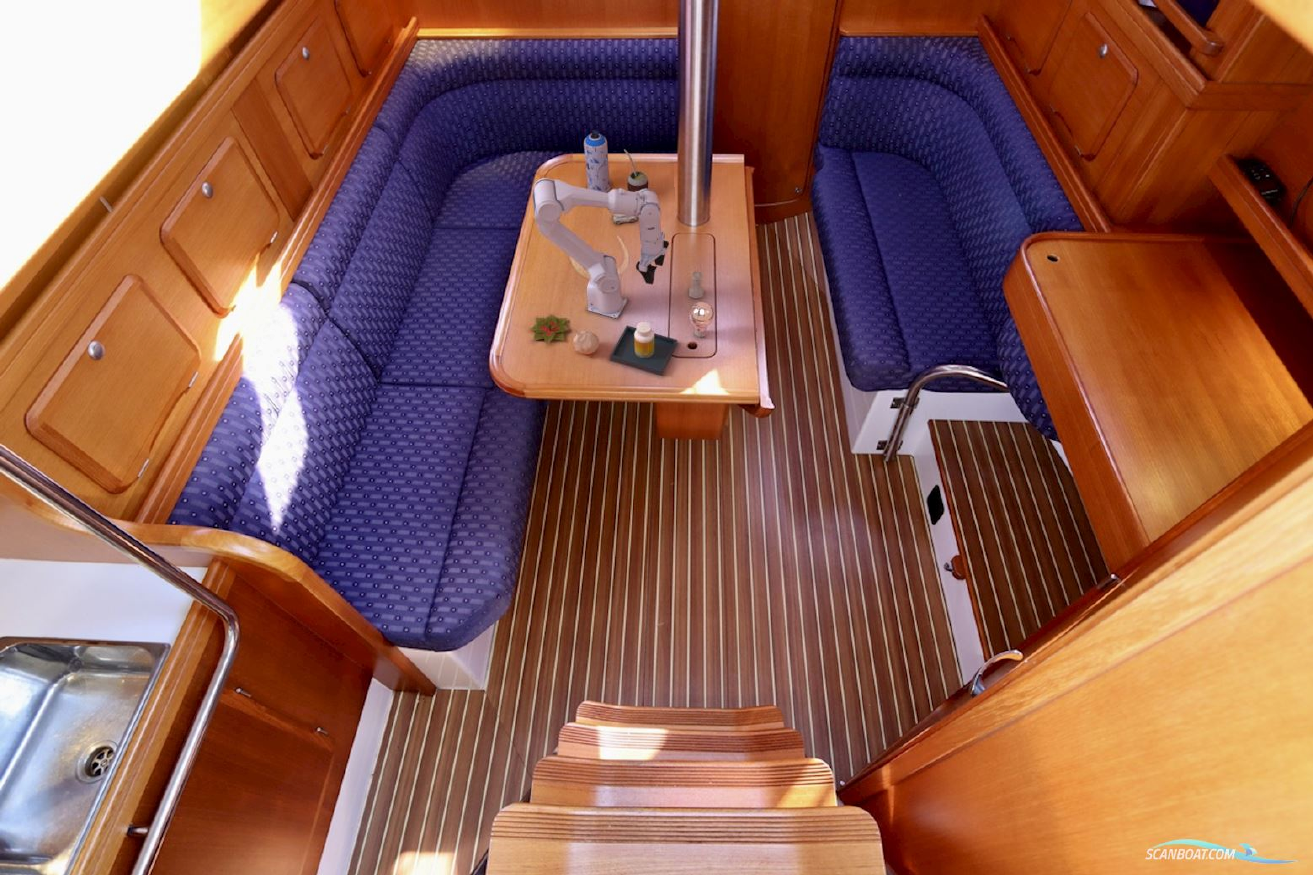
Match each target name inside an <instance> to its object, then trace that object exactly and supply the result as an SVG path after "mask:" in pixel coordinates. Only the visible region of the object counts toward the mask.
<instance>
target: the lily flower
mask: <svg viewBox="0 0 1313 875" xmlns="http://www.w3.org/2000/svg"><path fill="white" fill-rule="evenodd" d="M567 319H568V318H567V317H559V318H556V316H554V315H553V314H549V315H548V316H546V317H536V318H535V320H536V324H534V325H533V326H532V327H531V328H530V330H531V331H533V332H535V333H534V335H533V339H532V342H533V341H537V340H538V341H539V340H543V339H544V341H545V343H546V345H549V344H550V342H552V340H557V341H563V342H565V338H564V332H566V331H569V330H571V328H569V327H568V326H567V325H566V322H567Z"/></svg>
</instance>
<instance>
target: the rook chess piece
mask: <svg viewBox="0 0 1313 875" xmlns="http://www.w3.org/2000/svg"><path fill="white" fill-rule="evenodd" d="M691 278H692V285H691V286H690V287H689V290H688V295H689V296H690V297H691V298H693V299H695V300H696V299H700V298H702V297H703V296H704V287H703V286H702V282H703V278H704V275H703V273H702V271H699V270H694V271H693V273H692V274H691Z"/></svg>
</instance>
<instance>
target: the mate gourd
mask: <svg viewBox="0 0 1313 875" xmlns="http://www.w3.org/2000/svg"><path fill="white" fill-rule="evenodd" d="M623 151H624V152H625V154H626V156H628V158H629V162H630V164H631V167H632V171H633V172H631V173H630V174H629V176H628V177H627V180H626V181H627V183H626V187H627V191H631V192H636V191H640V190H642V189H646V188H647V189H649V177H648V176H647V174H646V173H645V172H643V171H639V170H637V171H636V168H635V165H634V162H633V158H632V156H631V155H630V153H629V152H628V151H627V150H626V148H625V149H623Z"/></svg>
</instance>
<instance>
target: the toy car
mask: <svg viewBox="0 0 1313 875" xmlns="http://www.w3.org/2000/svg"><path fill="white" fill-rule="evenodd" d="M637 220H638V217H636V216H629V215H621V214H613V213H612V221H613V224H615V223H616V225H621V224H623V223H624V224H625V223H634V222H636V221H637Z"/></svg>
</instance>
